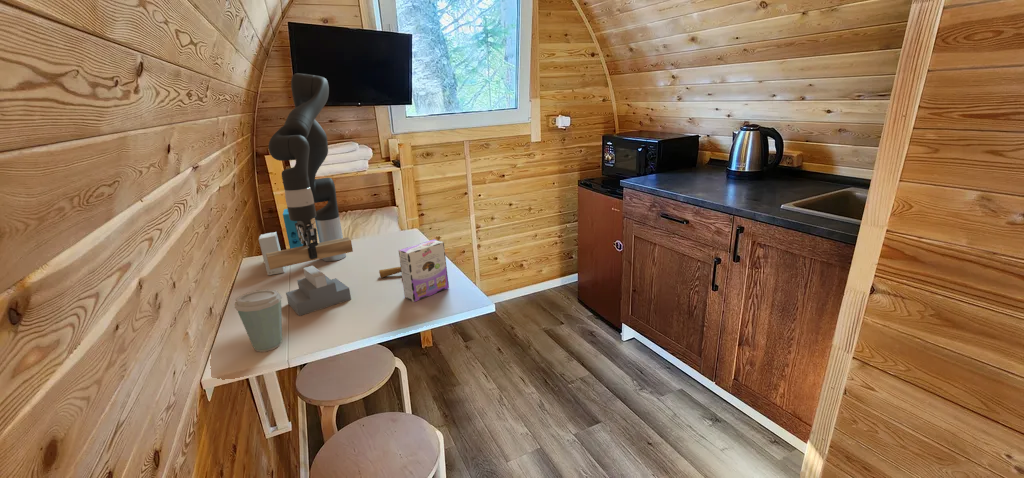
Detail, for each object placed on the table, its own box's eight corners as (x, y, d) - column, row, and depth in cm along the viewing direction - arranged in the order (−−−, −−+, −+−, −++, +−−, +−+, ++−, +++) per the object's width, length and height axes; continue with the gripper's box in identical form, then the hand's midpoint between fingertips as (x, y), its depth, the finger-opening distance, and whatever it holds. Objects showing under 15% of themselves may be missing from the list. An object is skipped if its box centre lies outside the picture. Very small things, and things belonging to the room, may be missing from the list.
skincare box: (284, 273, 170) (276, 236, 165) (266, 276, 167) (257, 238, 163) (285, 266, 177) (277, 230, 172) (268, 269, 175) (259, 233, 170)
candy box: (439, 284, 151) (434, 238, 146) (449, 288, 147) (444, 241, 142) (404, 297, 142) (397, 249, 137) (414, 302, 138) (407, 252, 133)
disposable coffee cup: (261, 336, 122) (249, 286, 117) (299, 335, 121) (288, 284, 117) (237, 357, 112) (222, 303, 107) (278, 356, 111) (265, 302, 107)
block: (305, 259, 184) (296, 213, 178) (292, 261, 182) (282, 214, 176) (306, 251, 194) (297, 207, 188) (293, 253, 193) (284, 209, 187)
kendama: (381, 285, 156) (431, 273, 158) (376, 268, 155) (427, 256, 158) (384, 281, 164) (431, 269, 166) (379, 265, 163) (427, 253, 165)
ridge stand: (288, 303, 142) (281, 273, 139) (338, 289, 151) (332, 260, 148) (299, 315, 133) (292, 283, 130) (351, 299, 143) (345, 269, 139)
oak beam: (268, 265, 133) (265, 253, 132) (349, 248, 146) (347, 237, 144) (270, 269, 130) (267, 256, 129) (352, 251, 142) (350, 239, 141)
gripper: (321, 204, 130) (331, 258, 135) (306, 198, 140) (316, 249, 145) (294, 209, 125) (305, 265, 130) (280, 202, 136) (292, 254, 141)
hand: (311, 256), depth 138 cm, fingers closed on oak beam, 4 cm apart
